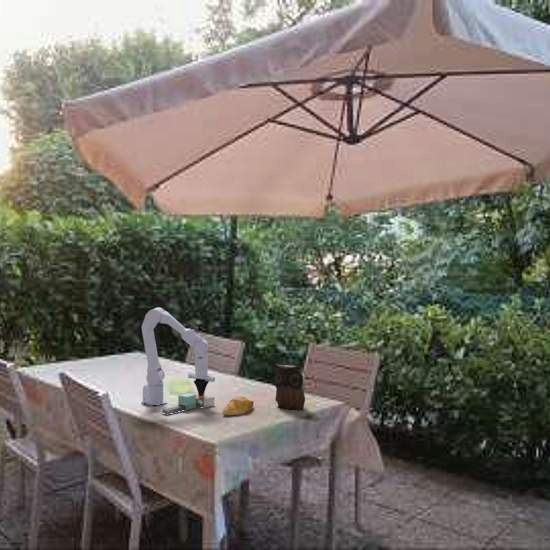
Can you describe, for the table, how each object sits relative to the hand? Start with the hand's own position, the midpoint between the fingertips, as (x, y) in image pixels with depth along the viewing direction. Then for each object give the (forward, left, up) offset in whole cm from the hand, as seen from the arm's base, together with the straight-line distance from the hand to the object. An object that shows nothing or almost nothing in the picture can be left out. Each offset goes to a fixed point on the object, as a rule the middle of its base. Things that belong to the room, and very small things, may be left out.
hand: (201, 395), depth 328 cm
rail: (0, -13, -4) cm, 14 cm away
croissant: (+20, +2, -5) cm, 21 cm away
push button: (0, 0, -4) cm, 4 cm away
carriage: (0, -9, -4) cm, 10 cm away
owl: (+34, +24, -5) cm, 42 cm away
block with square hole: (0, 0, -4) cm, 4 cm away
